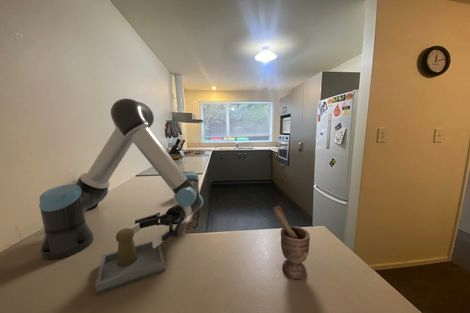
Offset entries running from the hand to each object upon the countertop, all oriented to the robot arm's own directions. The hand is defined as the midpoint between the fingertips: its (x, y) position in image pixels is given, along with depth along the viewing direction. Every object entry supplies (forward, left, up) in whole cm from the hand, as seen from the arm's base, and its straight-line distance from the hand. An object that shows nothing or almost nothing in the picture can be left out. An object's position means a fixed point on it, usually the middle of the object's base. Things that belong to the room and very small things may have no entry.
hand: (137, 239), depth 61 cm
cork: (-3, +2, -8) cm, 9 cm away
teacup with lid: (+24, +38, -9) cm, 46 cm away
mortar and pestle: (+42, -27, -9) cm, 51 cm away
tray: (-2, -1, -9) cm, 9 cm away
